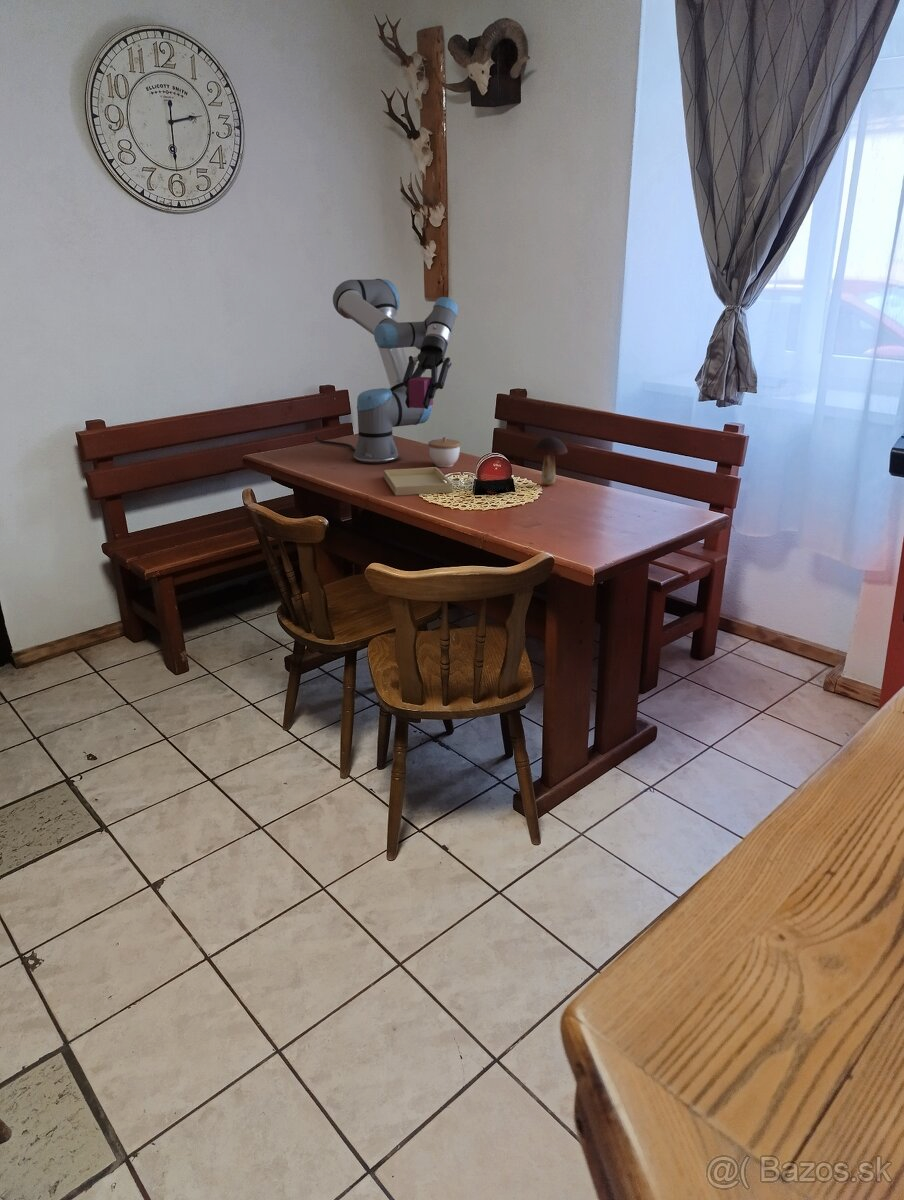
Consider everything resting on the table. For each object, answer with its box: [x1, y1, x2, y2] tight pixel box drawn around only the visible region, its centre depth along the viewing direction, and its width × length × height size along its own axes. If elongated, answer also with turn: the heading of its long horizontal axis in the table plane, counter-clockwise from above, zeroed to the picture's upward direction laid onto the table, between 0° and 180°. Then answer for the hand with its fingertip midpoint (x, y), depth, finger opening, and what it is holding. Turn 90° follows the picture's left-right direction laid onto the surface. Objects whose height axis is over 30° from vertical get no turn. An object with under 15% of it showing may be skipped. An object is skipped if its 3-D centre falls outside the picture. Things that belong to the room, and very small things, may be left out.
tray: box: [383, 466, 453, 496], centre depth 250 cm, size 21×17×3 cm
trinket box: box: [427, 436, 461, 468], centre depth 272 cm, size 11×11×9 cm
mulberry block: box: [409, 376, 434, 408], centre depth 243 cm, size 7×5×8 cm
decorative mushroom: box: [531, 436, 569, 487], centre depth 247 cm, size 11×11×15 cm
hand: (416, 405), depth 241 cm, fingers closed on mulberry block, 5 cm apart
